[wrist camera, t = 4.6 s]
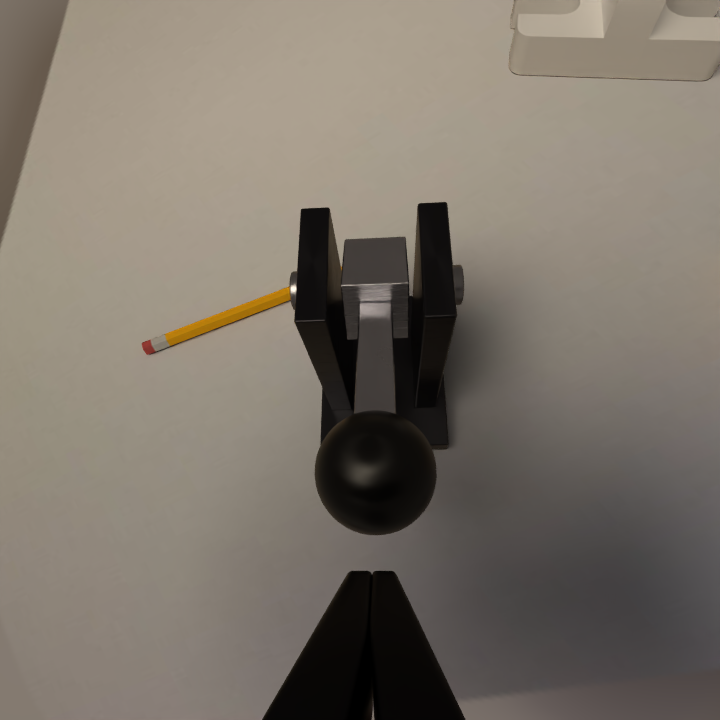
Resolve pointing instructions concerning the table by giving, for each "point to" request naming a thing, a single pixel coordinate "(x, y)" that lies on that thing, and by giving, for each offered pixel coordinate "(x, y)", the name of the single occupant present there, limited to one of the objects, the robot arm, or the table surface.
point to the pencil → (216, 321)
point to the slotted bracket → (616, 38)
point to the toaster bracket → (411, 355)
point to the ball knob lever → (375, 403)
